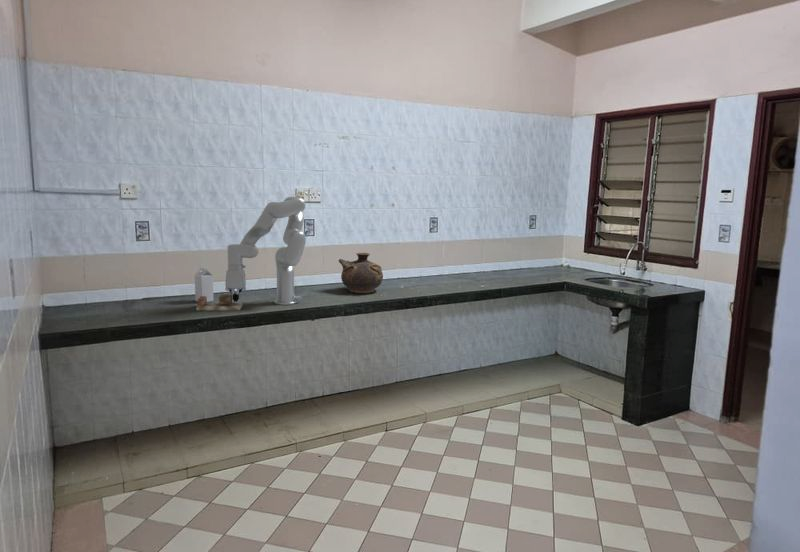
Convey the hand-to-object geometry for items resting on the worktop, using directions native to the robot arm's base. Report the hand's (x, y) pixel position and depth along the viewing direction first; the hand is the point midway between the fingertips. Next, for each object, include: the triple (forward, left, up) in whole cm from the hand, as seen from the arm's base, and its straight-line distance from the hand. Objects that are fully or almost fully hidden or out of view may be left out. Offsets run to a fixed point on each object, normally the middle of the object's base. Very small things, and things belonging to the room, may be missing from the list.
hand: (235, 301), depth 291 cm
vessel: (-73, -46, -4) cm, 86 cm away
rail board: (+8, 0, -4) cm, 9 cm away
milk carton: (+19, -17, -4) cm, 26 cm away
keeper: (+5, 0, -2) cm, 6 cm away
